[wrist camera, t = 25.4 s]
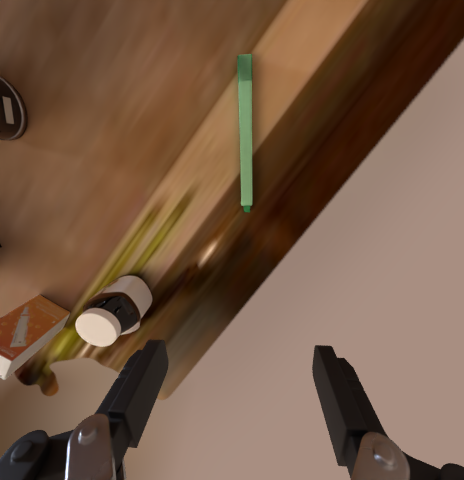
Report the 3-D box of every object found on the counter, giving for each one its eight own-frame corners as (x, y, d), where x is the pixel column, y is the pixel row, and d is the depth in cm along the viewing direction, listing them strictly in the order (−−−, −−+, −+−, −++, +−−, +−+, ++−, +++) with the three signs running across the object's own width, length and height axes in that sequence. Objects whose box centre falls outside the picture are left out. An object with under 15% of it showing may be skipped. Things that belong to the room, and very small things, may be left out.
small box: (72, 311, 49) (12, 362, 37) (63, 328, 51) (4, 381, 39) (38, 293, 48) (-35, 338, 35) (31, 311, 50) (-40, 360, 38)
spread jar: (144, 267, 43) (108, 304, 32) (169, 311, 46) (144, 358, 35) (96, 283, 45) (48, 321, 34) (123, 323, 49) (86, 371, 38)
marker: (252, 210, 37) (252, 212, 35) (241, 210, 37) (241, 212, 35) (251, 59, 30) (252, 53, 28) (238, 60, 30) (237, 54, 28)
